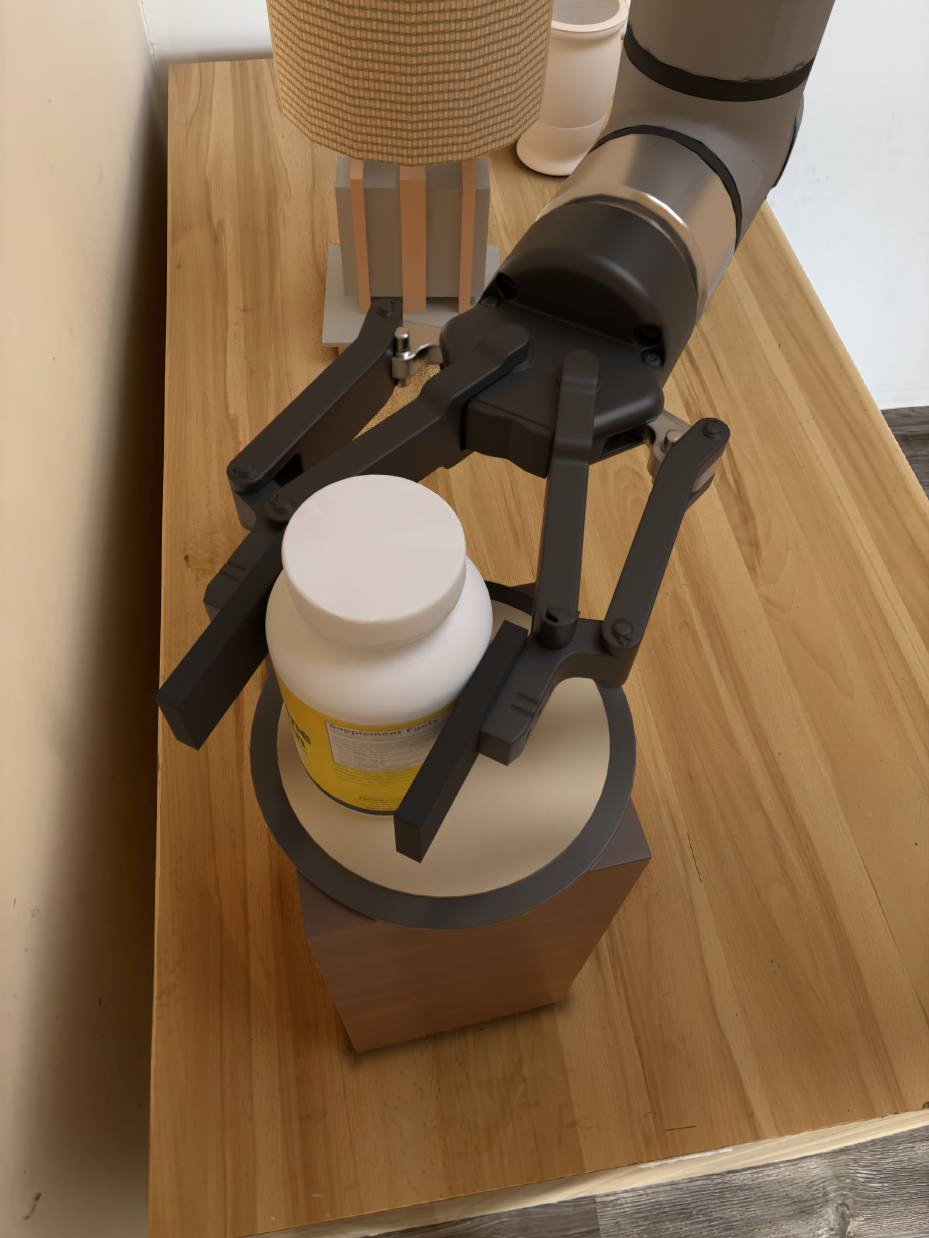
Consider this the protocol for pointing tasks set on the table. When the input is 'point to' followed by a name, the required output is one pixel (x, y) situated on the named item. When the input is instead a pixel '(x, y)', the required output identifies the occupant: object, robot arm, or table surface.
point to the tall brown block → (464, 866)
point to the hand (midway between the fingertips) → (289, 779)
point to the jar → (575, 84)
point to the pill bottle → (374, 634)
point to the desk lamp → (409, 138)
